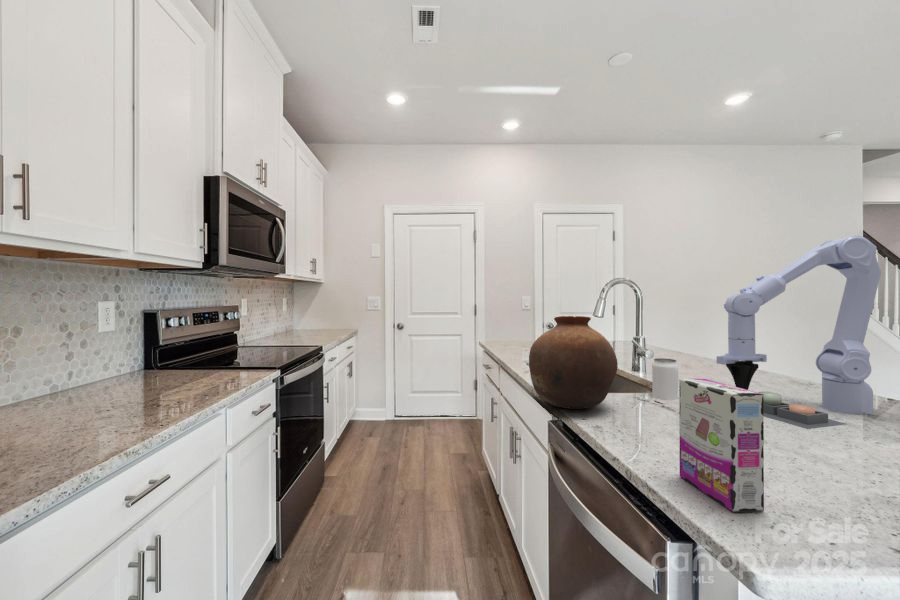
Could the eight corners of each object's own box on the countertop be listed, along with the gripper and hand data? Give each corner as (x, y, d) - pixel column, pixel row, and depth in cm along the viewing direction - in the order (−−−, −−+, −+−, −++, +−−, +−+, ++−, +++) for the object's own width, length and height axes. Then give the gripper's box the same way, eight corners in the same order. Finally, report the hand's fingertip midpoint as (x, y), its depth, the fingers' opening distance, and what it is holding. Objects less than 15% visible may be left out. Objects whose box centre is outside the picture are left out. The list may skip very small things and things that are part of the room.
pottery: (561, 424, 90) (561, 318, 90) (514, 399, 112) (513, 314, 112) (637, 413, 97) (636, 316, 97) (579, 393, 119) (578, 313, 119)
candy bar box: (767, 512, 52) (766, 393, 52) (733, 514, 52) (732, 394, 52) (706, 474, 64) (705, 377, 64) (677, 476, 63) (677, 377, 63)
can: (682, 405, 104) (682, 362, 104) (656, 404, 106) (656, 361, 106) (673, 399, 111) (673, 358, 111) (649, 398, 112) (649, 357, 112)
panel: (741, 402, 107) (741, 389, 107) (848, 430, 84) (848, 414, 84) (706, 405, 104) (706, 392, 104) (807, 435, 81) (807, 419, 81)
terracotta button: (798, 413, 90) (798, 403, 90) (820, 419, 86) (820, 408, 86) (784, 415, 89) (784, 404, 89) (805, 420, 85) (805, 410, 85)
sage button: (767, 400, 97) (767, 391, 97) (786, 405, 92) (786, 395, 92) (753, 401, 96) (753, 392, 96) (772, 406, 91) (772, 396, 91)
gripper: (747, 336, 106) (748, 384, 106) (706, 338, 103) (706, 388, 103) (774, 339, 100) (775, 390, 100) (730, 341, 96) (731, 394, 96)
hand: (742, 390), depth 101 cm, fingers closed
